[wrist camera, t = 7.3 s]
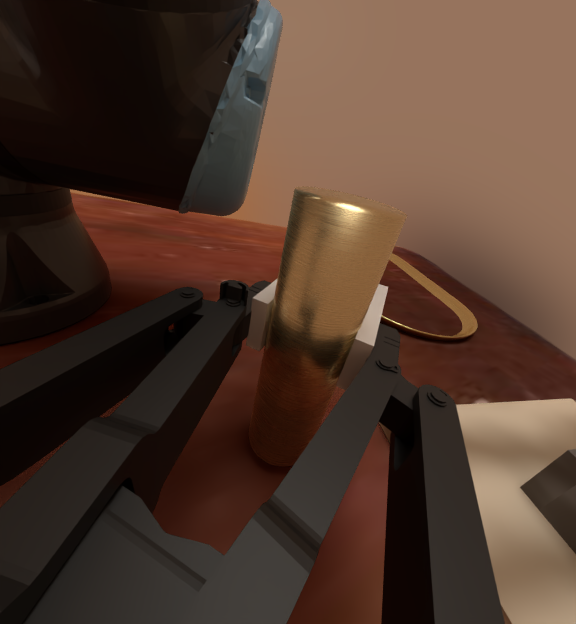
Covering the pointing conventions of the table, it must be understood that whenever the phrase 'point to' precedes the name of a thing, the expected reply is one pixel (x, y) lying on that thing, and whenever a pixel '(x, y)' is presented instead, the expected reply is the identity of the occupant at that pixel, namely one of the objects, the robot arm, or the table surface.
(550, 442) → the socket board
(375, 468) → the table surface
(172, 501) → the table surface
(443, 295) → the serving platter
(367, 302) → the brass post
